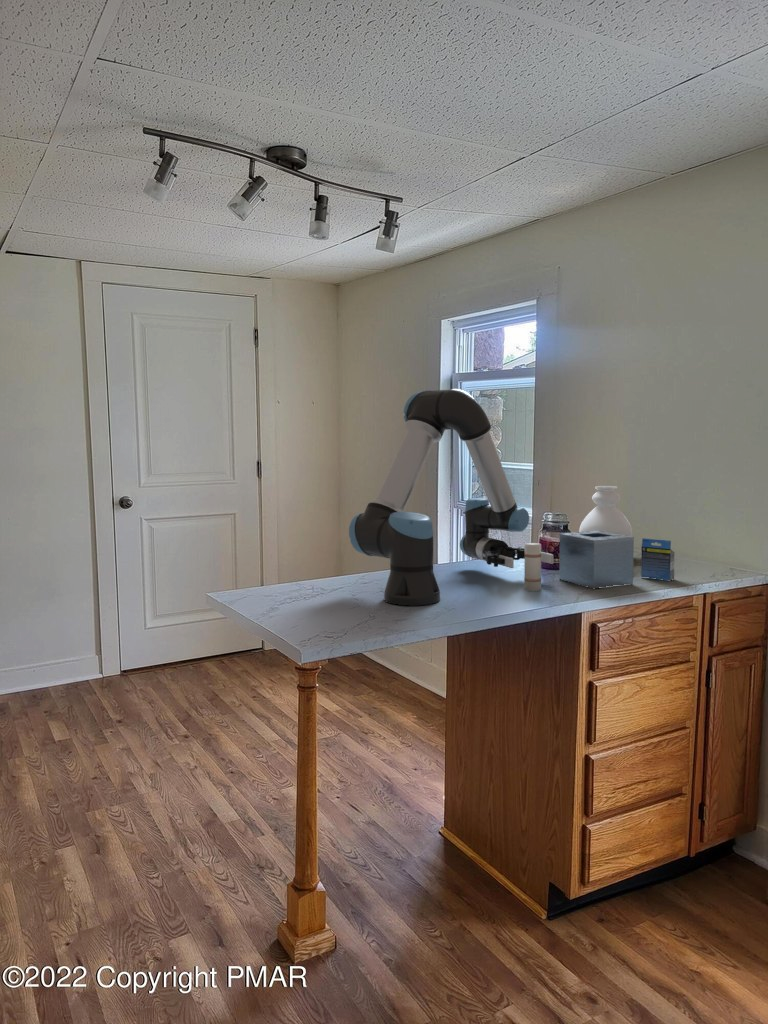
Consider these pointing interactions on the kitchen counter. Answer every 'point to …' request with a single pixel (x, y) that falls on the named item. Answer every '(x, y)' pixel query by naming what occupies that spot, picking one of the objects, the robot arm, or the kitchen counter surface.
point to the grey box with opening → (596, 558)
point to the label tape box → (657, 559)
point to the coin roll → (532, 566)
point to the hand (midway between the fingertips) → (532, 561)
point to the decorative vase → (606, 513)
